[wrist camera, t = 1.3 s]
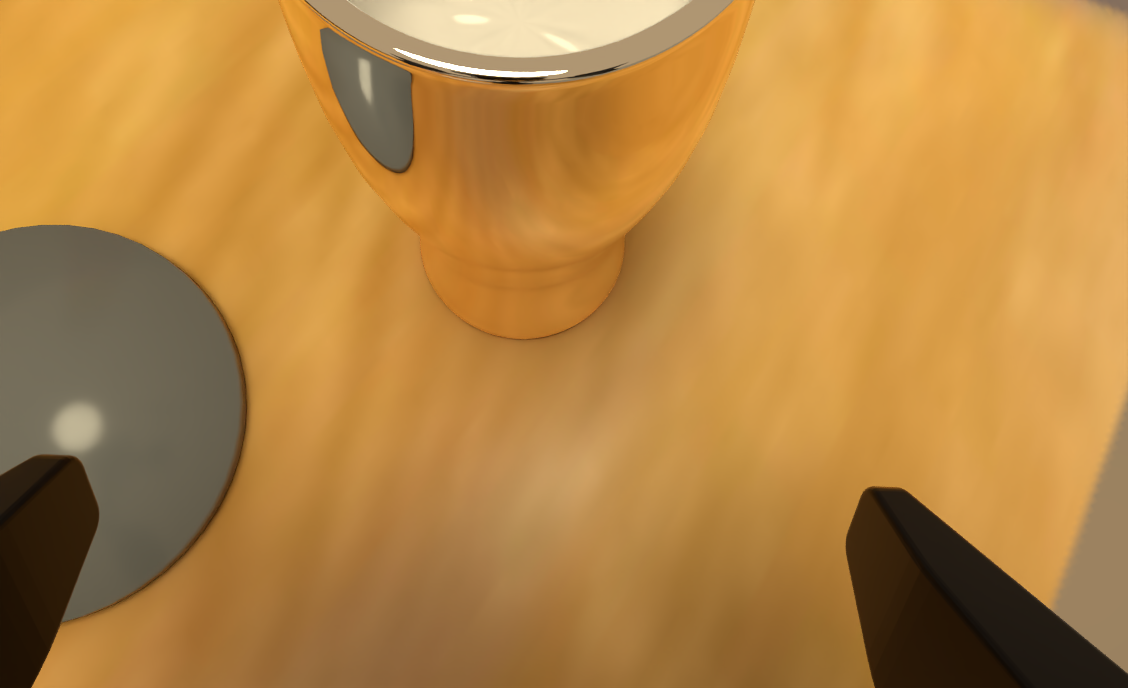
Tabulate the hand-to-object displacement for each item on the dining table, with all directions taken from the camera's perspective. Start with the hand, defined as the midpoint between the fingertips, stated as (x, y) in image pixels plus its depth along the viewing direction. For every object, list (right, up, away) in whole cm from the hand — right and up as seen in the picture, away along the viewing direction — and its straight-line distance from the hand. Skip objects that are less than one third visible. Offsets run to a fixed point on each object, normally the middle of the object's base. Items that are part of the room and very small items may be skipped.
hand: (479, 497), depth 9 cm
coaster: (-13, 0, +13) cm, 19 cm away
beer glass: (0, +5, +15) cm, 15 cm away
